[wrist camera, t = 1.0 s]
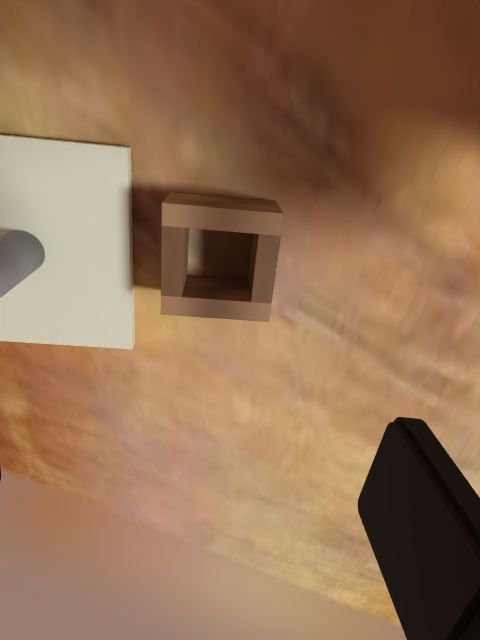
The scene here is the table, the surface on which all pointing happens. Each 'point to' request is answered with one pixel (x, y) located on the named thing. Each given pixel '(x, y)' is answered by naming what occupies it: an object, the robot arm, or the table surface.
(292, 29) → the table surface
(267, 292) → the walnut ring
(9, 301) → the post stand
